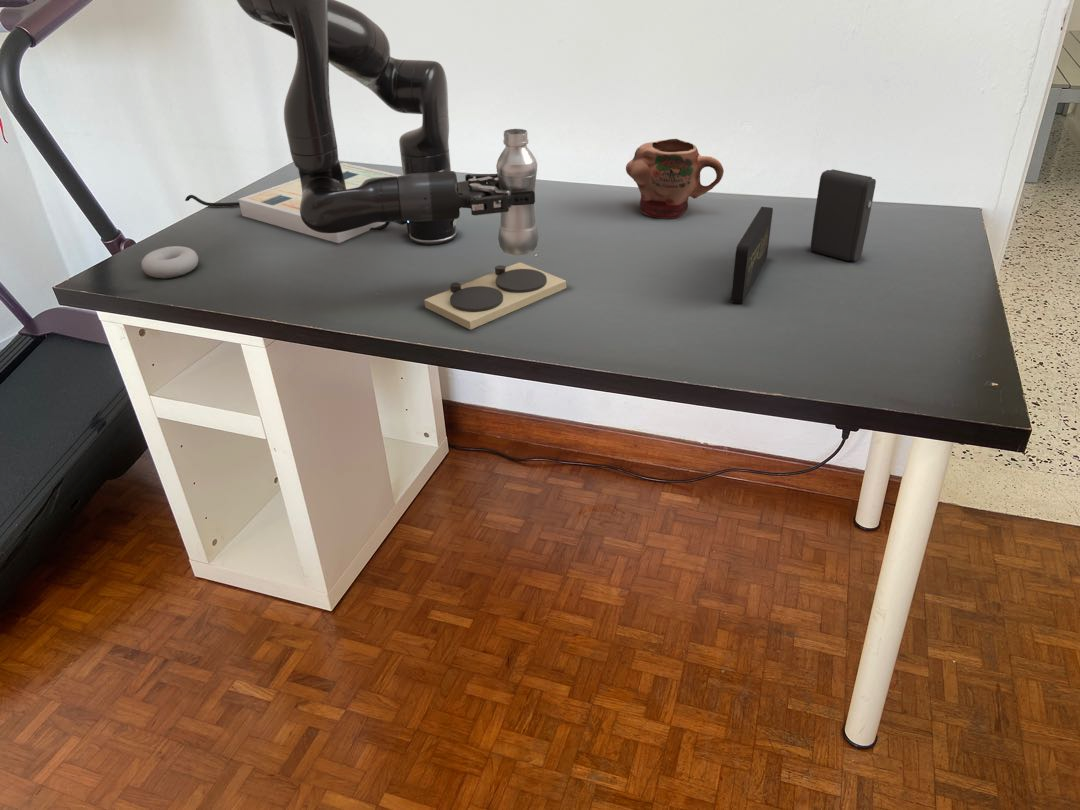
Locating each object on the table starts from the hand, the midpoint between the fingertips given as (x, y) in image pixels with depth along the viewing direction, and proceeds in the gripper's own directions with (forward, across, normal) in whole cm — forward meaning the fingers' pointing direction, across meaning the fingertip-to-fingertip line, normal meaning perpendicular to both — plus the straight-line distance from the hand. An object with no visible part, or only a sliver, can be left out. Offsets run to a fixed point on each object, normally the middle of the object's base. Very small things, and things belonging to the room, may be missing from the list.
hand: (531, 190), depth 137 cm
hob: (-7, -2, +18) cm, 19 cm away
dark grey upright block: (+57, +3, +17) cm, 59 cm away
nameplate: (+37, -4, +17) cm, 41 cm away
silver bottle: (-2, 0, +11) cm, 11 cm away
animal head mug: (+34, +32, +17) cm, 50 cm away
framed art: (-35, +51, +18) cm, 65 cm away
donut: (-66, +23, +18) cm, 72 cm away
